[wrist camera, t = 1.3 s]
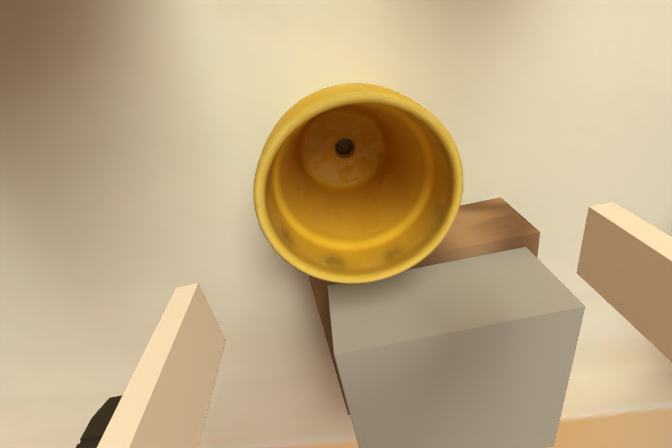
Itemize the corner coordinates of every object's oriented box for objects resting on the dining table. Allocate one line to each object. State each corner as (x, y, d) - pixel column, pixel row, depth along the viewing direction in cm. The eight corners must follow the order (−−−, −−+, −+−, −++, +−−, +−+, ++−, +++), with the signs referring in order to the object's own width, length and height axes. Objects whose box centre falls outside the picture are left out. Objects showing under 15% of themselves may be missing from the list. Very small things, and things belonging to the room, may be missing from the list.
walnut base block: (342, 361, 38) (348, 415, 33) (308, 233, 30) (309, 278, 25) (492, 331, 38) (523, 381, 32) (498, 195, 30) (540, 231, 24)
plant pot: (363, 30, 23) (400, 36, 14) (436, 158, 27) (498, 220, 19) (238, 128, 25) (204, 183, 16) (325, 230, 29) (334, 315, 21)
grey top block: (357, 405, 32) (368, 480, 27) (327, 285, 25) (334, 354, 20) (512, 376, 32) (553, 445, 27) (525, 246, 25) (585, 306, 20)
